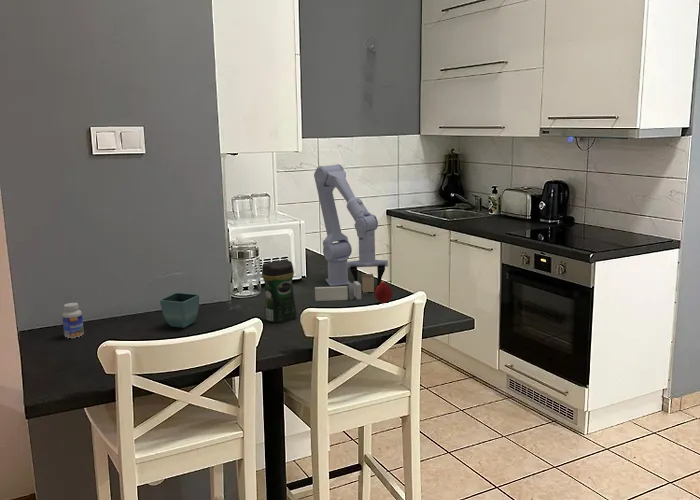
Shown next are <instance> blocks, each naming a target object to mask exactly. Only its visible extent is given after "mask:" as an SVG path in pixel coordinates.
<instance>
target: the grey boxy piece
mask: <svg viewBox="0 0 700 500" xmlns="http://www.w3.org/2000/svg"><path fill="white" fill-rule="evenodd" d="M347 289H348V300H349V299H350V301H353V300H352V299H354V300H355V298H356V300H362V283H360V282H359V280H358V281H355V280H354V281H353V282H350V283H349V284H348V285H347Z"/></svg>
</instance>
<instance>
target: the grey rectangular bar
mask: <svg viewBox="0 0 700 500" xmlns="http://www.w3.org/2000/svg"><path fill="white" fill-rule="evenodd" d="M314 295H315V296H314V298H315V299H314V300H315V302H323V301H324V302H326V301H327V302H330V301H348V300H349V291H348V285H339V286H318V287H317V286H316V287H314Z"/></svg>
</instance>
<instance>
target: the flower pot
mask: <svg viewBox="0 0 700 500" xmlns="http://www.w3.org/2000/svg"><path fill="white" fill-rule="evenodd" d="M159 303H160V306H161V312H162V315H163V318H164V319H165V321H166V323H167V324H168V325H169V326H170V327H175V328H183V329H185V328H187V327H189V326H190V325H192V324H194V323H195V320H196V319H197V317H198V315H199V308H200V294H197V293H196V294H195V293H187V292H186V293H184V292H174V293H172V294H170V295H168V296H166V297H163V298H161V299H160V300H159Z"/></svg>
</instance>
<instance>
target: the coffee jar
mask: <svg viewBox="0 0 700 500" xmlns="http://www.w3.org/2000/svg"><path fill="white" fill-rule="evenodd" d="M294 274H295V272H294V265H293V263H292V261H290V260H287V259H281V260H274V261H269V262H265V263H263V264H262V266H261V277H262V279H263V282H264V319H265V320H266V321H267V322H269V323H284V322H287V321H290V320H293V319H296V318H297V308H296V301H295V295H294V289H293V278H294Z"/></svg>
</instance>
